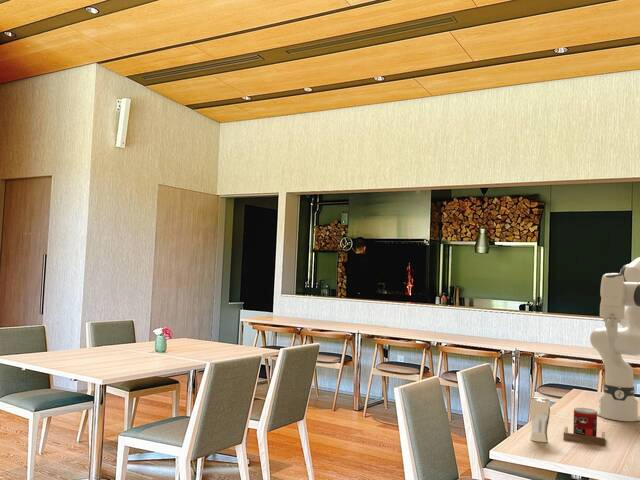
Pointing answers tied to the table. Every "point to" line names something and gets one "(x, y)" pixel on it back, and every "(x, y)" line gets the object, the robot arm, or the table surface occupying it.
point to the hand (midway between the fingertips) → (611, 348)
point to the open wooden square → (584, 438)
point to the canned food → (585, 422)
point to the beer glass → (539, 418)
